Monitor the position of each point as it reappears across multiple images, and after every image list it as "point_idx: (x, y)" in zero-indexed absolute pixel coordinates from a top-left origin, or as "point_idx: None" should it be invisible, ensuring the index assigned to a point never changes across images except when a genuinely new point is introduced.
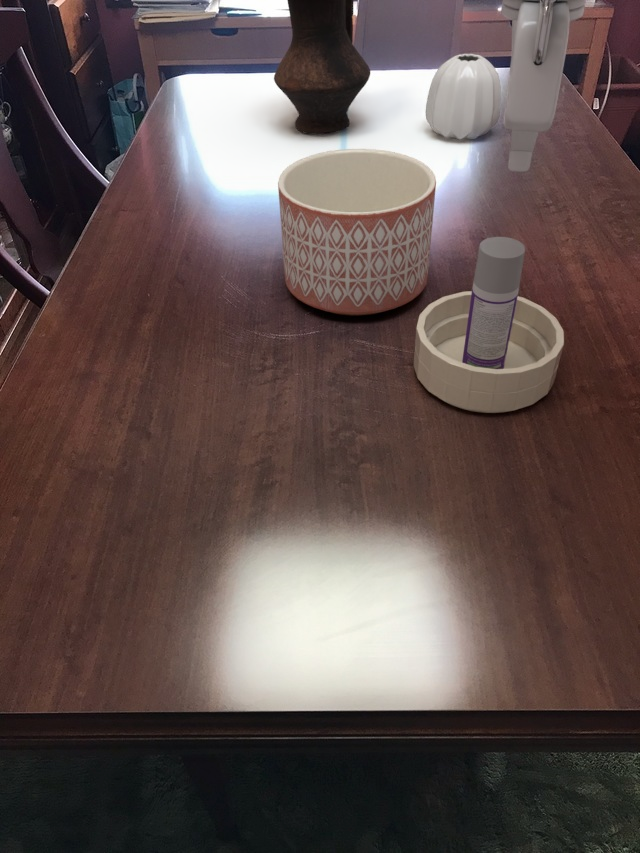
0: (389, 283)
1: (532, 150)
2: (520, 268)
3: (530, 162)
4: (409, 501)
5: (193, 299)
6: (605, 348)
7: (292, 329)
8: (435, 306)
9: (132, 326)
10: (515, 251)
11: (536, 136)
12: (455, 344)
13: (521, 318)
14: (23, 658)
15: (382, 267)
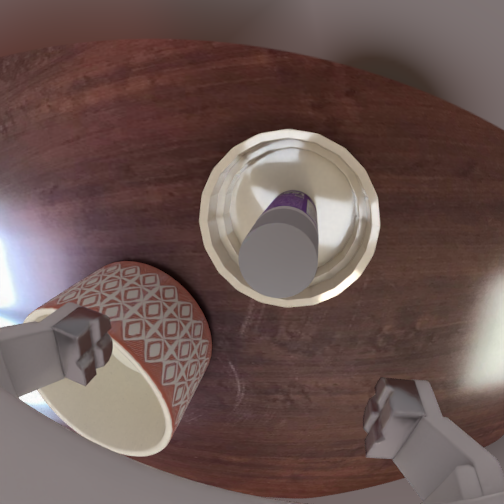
0: (188, 323)
1: (447, 419)
2: (301, 222)
3: (433, 393)
4: (457, 292)
5: (195, 437)
6: (239, 70)
7: (228, 381)
8: (240, 282)
9: (236, 464)
10: (293, 241)
11: (491, 457)
12: None
13: (230, 168)
14: (486, 443)
15: (185, 343)
